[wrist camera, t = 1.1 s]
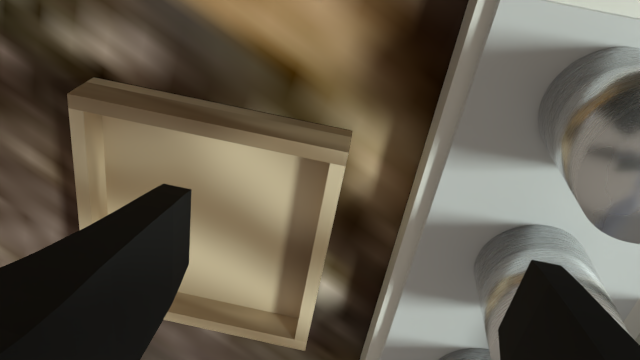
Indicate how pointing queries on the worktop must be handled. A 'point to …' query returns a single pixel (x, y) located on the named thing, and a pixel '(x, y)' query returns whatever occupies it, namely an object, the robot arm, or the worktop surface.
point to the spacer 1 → (468, 354)
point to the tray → (219, 199)
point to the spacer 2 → (598, 137)
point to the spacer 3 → (512, 262)
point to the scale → (495, 174)
